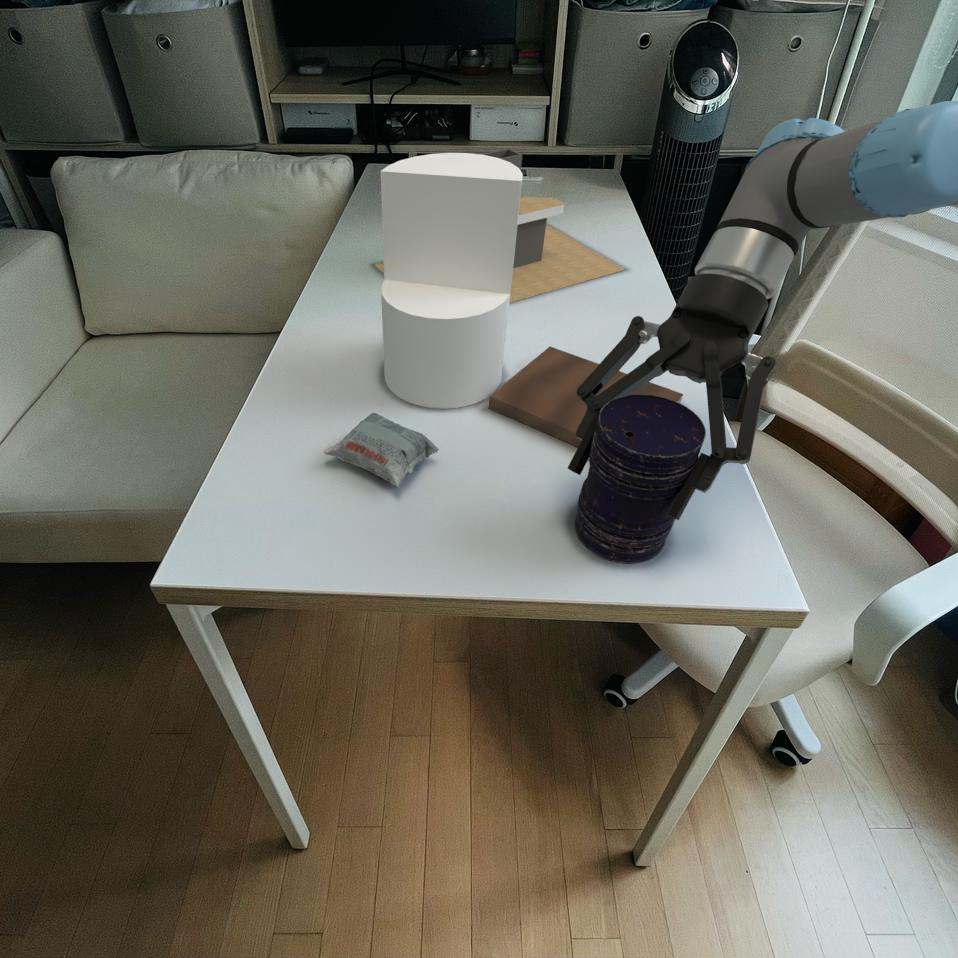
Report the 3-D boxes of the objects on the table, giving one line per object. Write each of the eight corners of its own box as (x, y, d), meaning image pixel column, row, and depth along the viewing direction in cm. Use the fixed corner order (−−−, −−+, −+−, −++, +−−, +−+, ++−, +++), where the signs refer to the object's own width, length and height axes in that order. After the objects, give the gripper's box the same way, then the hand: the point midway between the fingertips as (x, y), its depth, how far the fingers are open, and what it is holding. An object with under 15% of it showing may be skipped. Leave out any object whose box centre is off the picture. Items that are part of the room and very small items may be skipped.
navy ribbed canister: (619, 487, 78) (649, 382, 68) (686, 539, 72) (730, 432, 62) (554, 520, 75) (575, 415, 65) (618, 578, 68) (654, 471, 58)
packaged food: (398, 501, 78) (398, 470, 75) (323, 463, 84) (320, 433, 81) (439, 462, 83) (441, 431, 80) (366, 429, 89) (364, 399, 86)
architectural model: (542, 222, 136) (556, 116, 123) (625, 269, 119) (652, 152, 105) (374, 264, 126) (368, 154, 112) (438, 323, 108) (441, 200, 95)
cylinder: (404, 336, 106) (402, 149, 87) (512, 351, 101) (534, 157, 82) (367, 397, 94) (355, 196, 75) (487, 418, 89) (506, 208, 70)
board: (679, 406, 89) (683, 393, 88) (625, 468, 81) (629, 455, 79) (548, 357, 99) (549, 346, 98) (488, 408, 91) (489, 396, 89)
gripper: (856, 337, 61) (738, 548, 64) (626, 273, 73) (534, 455, 75) (867, 307, 55) (736, 544, 57) (614, 243, 66) (513, 442, 69)
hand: (621, 493), depth 66 cm, fingers closed on navy ribbed canister, 10 cm apart
